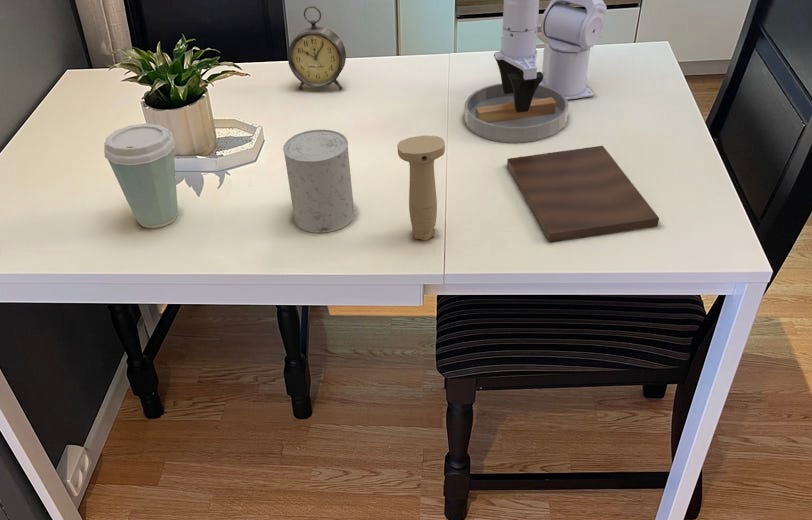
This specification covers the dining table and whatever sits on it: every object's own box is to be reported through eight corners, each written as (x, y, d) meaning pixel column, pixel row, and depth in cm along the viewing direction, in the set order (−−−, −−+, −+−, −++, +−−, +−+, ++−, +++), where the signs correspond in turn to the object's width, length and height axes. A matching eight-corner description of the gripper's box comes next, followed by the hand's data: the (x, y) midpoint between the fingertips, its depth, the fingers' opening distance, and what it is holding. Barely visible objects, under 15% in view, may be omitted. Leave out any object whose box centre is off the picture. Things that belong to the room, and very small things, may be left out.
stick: (475, 118, 142) (475, 107, 141) (551, 108, 143) (552, 97, 142) (478, 124, 141) (478, 112, 139) (555, 113, 141) (556, 102, 140)
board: (506, 166, 130) (507, 158, 129) (601, 153, 130) (602, 145, 129) (549, 242, 113) (549, 233, 112) (657, 226, 113) (659, 218, 112)
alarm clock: (291, 92, 158) (280, 11, 148) (299, 80, 162) (288, 0, 152) (344, 93, 156) (336, 11, 145) (350, 81, 160) (343, 0, 149)
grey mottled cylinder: (333, 239, 118) (324, 167, 110) (281, 223, 122) (269, 153, 114) (366, 207, 124) (360, 136, 116) (316, 193, 128) (307, 124, 120)
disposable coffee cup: (135, 201, 131) (110, 118, 121) (199, 198, 130) (178, 114, 120) (119, 238, 123) (90, 152, 113) (186, 235, 122) (164, 148, 112)
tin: (454, 103, 149) (454, 89, 147) (548, 90, 149) (549, 76, 148) (478, 148, 135) (478, 133, 133) (581, 134, 136) (582, 119, 134)
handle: (448, 241, 115) (447, 150, 105) (404, 247, 115) (400, 156, 105) (442, 223, 118) (441, 133, 109) (400, 229, 118) (395, 139, 109)
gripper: (485, 13, 137) (483, 87, 145) (508, 44, 125) (504, 122, 134) (525, 8, 137) (520, 82, 146) (551, 39, 126) (545, 117, 135)
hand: (515, 101), depth 140 cm, fingers open, 7 cm apart
